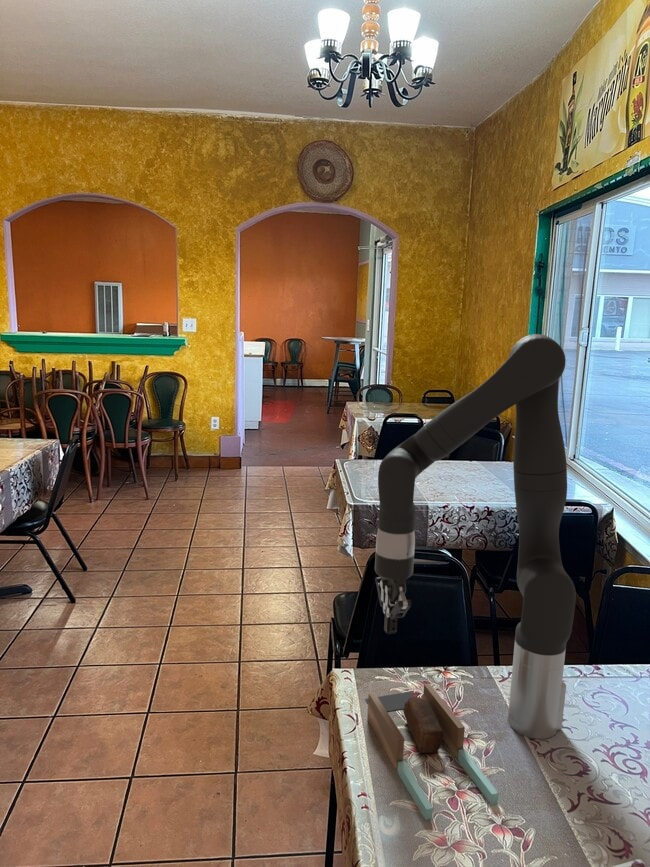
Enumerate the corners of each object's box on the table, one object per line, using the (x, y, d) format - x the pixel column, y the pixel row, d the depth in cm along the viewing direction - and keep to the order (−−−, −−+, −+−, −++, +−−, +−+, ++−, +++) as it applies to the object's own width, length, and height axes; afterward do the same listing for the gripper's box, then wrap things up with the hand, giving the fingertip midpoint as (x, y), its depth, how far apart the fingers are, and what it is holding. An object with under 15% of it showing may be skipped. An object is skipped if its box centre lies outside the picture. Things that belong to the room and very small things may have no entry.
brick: (440, 754, 115) (444, 731, 114) (419, 754, 115) (423, 732, 114) (421, 714, 126) (425, 693, 124) (402, 715, 125) (405, 694, 124)
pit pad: (409, 692, 134) (409, 691, 134) (420, 706, 129) (420, 705, 129) (364, 700, 131) (364, 698, 131) (373, 714, 126) (373, 713, 126)
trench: (427, 710, 128) (429, 683, 127) (462, 756, 115) (464, 727, 114) (367, 721, 124) (368, 693, 123) (396, 770, 111) (397, 739, 110)
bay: (463, 758, 115) (464, 748, 114) (497, 803, 104) (498, 793, 104) (397, 772, 111) (397, 762, 110) (425, 820, 100) (426, 809, 100)
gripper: (427, 561, 120) (421, 646, 123) (398, 537, 132) (394, 615, 136) (390, 565, 118) (385, 651, 121) (364, 540, 130) (361, 619, 134)
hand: (390, 632), depth 128 cm, fingers closed
